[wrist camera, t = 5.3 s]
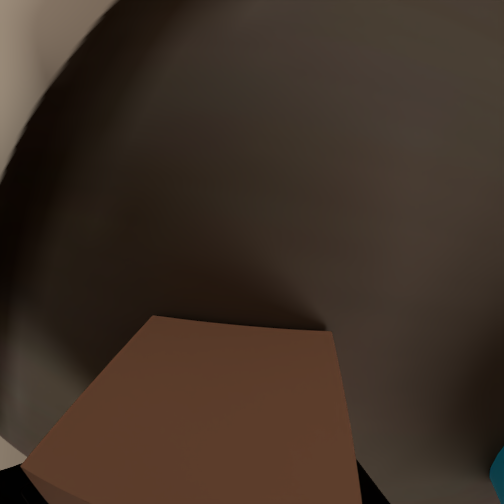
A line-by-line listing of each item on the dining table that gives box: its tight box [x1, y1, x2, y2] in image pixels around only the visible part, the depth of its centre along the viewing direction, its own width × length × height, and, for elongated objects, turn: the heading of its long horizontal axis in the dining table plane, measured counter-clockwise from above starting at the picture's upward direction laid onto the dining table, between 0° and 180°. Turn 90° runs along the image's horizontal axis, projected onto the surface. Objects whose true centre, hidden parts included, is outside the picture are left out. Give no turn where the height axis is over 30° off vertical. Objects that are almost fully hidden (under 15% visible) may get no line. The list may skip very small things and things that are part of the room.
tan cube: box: [20, 315, 362, 504], centre depth 6 cm, size 6×5×6 cm
